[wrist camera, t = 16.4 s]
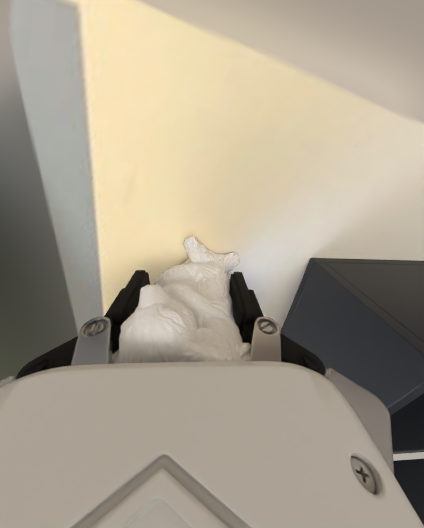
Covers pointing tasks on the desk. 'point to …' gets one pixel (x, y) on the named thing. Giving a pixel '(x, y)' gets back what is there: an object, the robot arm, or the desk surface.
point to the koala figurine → (185, 314)
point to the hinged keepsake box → (368, 333)
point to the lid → (412, 482)
